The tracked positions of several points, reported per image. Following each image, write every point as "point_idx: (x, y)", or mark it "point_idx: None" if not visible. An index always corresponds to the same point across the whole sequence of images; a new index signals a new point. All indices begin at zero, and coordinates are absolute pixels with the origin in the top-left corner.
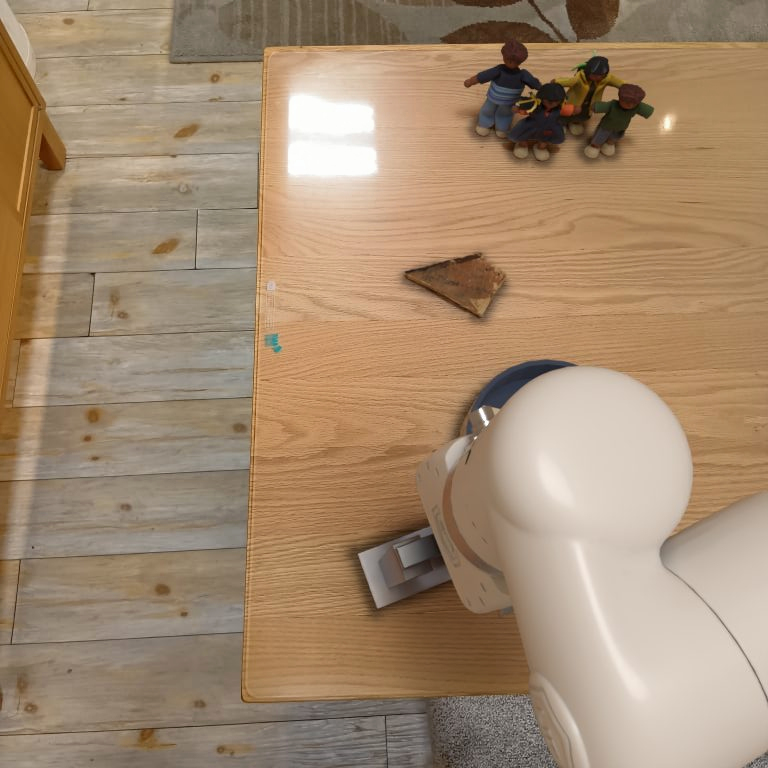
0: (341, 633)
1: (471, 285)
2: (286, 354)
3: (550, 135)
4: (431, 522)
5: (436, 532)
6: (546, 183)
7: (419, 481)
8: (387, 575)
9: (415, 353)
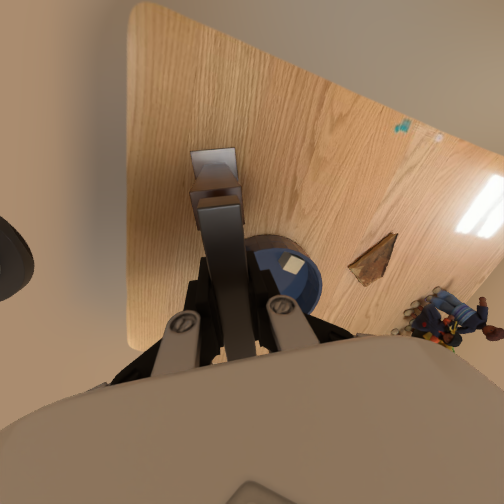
0: (176, 115)
1: (369, 268)
2: (390, 134)
3: (420, 323)
4: (310, 395)
5: (279, 442)
6: (393, 311)
7: (495, 422)
8: (212, 167)
9: (346, 226)
